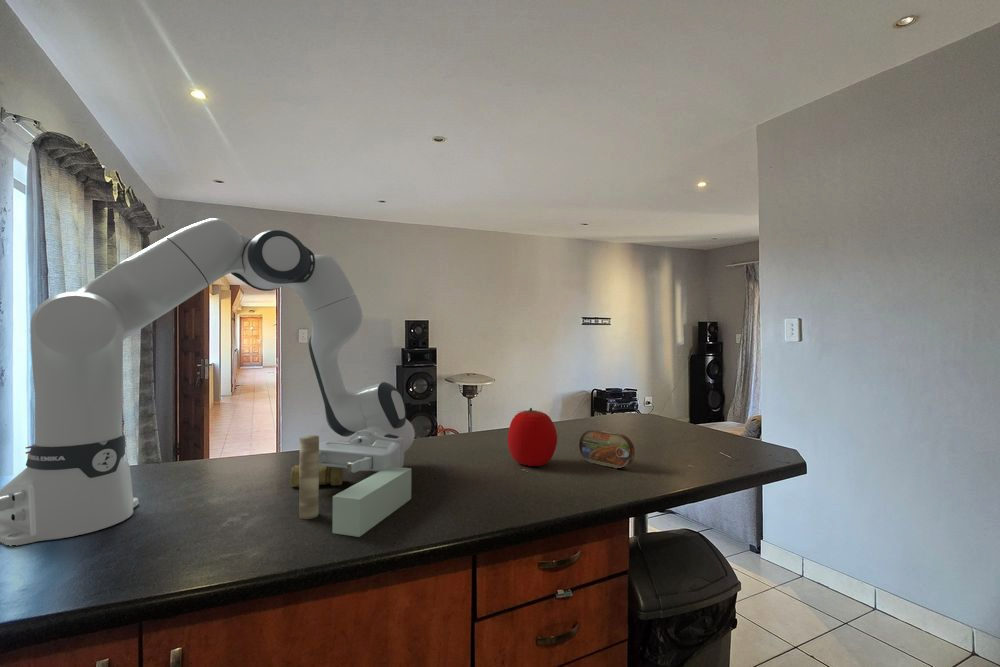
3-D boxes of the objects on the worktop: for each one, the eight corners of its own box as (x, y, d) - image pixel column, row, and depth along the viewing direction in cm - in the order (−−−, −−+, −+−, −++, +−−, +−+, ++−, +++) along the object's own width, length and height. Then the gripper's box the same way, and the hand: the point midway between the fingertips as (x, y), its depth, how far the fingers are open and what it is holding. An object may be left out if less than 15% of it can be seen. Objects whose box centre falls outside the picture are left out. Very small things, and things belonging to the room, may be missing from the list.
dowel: (295, 518, 82) (295, 438, 82) (307, 511, 85) (307, 434, 85) (310, 520, 81) (311, 439, 81) (322, 513, 84) (322, 436, 84)
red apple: (498, 466, 115) (498, 408, 115) (519, 455, 125) (519, 402, 125) (545, 473, 109) (546, 413, 109) (563, 462, 119) (563, 406, 119)
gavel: (314, 449, 118) (355, 448, 120) (314, 468, 118) (355, 466, 119) (290, 467, 97) (340, 466, 99) (289, 490, 97) (339, 488, 99)
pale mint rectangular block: (332, 533, 76) (332, 496, 76) (388, 496, 93) (388, 466, 93) (359, 537, 74) (359, 499, 74) (411, 498, 92) (411, 468, 92)
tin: (578, 460, 121) (578, 427, 121) (585, 458, 123) (585, 426, 123) (629, 473, 110) (629, 437, 110) (636, 470, 112) (636, 435, 112)
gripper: (327, 431, 105) (283, 445, 91) (410, 438, 99) (375, 453, 86) (327, 459, 105) (282, 477, 91) (409, 467, 99) (375, 487, 86)
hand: (328, 465), depth 89 cm, fingers open, 8 cm apart
